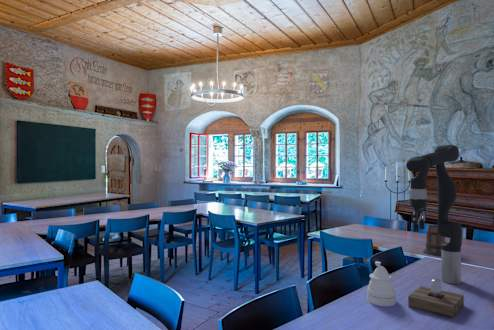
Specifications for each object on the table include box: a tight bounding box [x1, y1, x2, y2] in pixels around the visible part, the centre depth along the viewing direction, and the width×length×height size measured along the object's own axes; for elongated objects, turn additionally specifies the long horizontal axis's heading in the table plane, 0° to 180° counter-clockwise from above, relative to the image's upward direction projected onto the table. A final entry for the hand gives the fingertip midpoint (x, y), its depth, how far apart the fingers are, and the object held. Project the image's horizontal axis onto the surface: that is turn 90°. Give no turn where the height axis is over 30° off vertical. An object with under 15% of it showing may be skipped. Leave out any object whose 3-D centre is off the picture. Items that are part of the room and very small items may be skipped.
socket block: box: [407, 285, 465, 320], centre depth 156 cm, size 18×18×5 cm
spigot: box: [430, 278, 442, 299], centre depth 157 cm, size 4×4×11 cm
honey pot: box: [366, 261, 397, 307], centre depth 164 cm, size 13×13×18 cm
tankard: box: [422, 224, 448, 257], centre depth 251 cm, size 24×17×20 cm
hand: (419, 230), depth 171 cm, fingers open, 8 cm apart
